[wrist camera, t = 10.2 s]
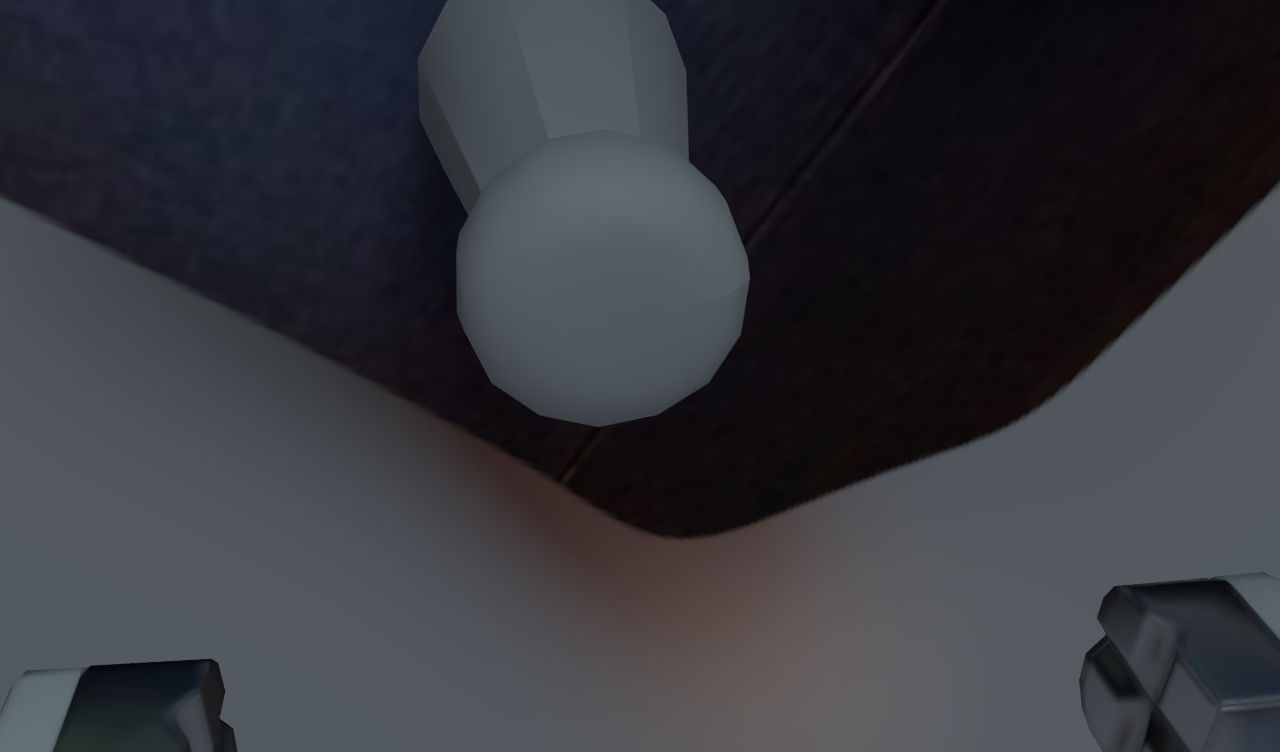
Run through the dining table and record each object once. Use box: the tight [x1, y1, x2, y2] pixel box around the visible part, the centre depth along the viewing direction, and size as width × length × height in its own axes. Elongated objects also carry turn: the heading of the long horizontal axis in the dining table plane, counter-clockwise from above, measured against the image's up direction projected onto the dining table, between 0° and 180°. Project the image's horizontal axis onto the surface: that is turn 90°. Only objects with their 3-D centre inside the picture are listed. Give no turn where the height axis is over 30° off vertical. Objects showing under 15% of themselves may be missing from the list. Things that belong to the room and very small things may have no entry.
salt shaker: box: [418, 0, 750, 427], centre depth 21 cm, size 6×6×13 cm
